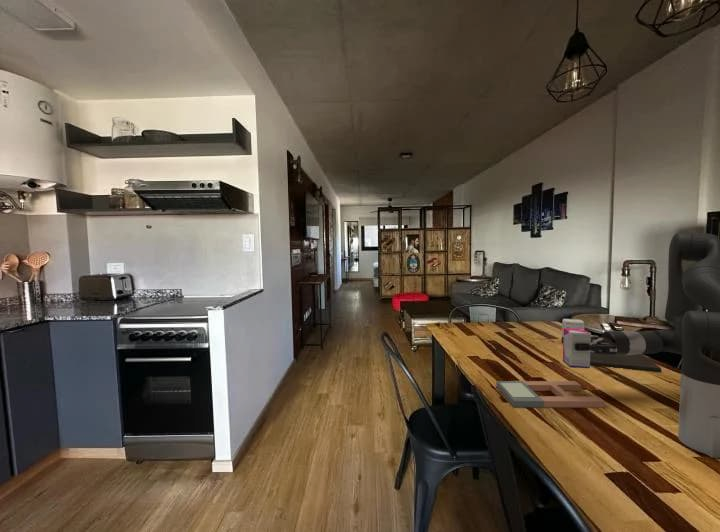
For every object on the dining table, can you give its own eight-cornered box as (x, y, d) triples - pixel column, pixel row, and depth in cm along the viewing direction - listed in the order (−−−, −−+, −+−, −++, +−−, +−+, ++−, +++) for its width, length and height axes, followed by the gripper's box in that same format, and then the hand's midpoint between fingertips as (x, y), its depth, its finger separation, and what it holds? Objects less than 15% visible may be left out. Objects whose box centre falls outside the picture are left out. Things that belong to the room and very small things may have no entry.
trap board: (604, 407, 95) (604, 400, 95) (514, 407, 96) (514, 400, 96) (575, 386, 109) (575, 380, 109) (496, 386, 110) (496, 380, 110)
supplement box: (590, 368, 98) (591, 333, 97) (569, 367, 99) (570, 332, 98) (581, 361, 104) (582, 328, 103) (562, 361, 105) (562, 327, 104)
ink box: (563, 344, 154) (564, 320, 153) (561, 341, 158) (561, 318, 158) (584, 346, 151) (584, 322, 150) (581, 343, 155) (582, 319, 154)
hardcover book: (578, 353, 142) (578, 348, 142) (641, 359, 134) (641, 354, 134) (589, 366, 127) (589, 361, 127) (661, 374, 119) (661, 368, 119)
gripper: (605, 325, 107) (555, 326, 108) (641, 338, 93) (583, 338, 94) (605, 347, 108) (555, 347, 109) (640, 362, 93) (582, 363, 94)
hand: (568, 343), depth 101 cm, fingers closed on supplement box, 6 cm apart
